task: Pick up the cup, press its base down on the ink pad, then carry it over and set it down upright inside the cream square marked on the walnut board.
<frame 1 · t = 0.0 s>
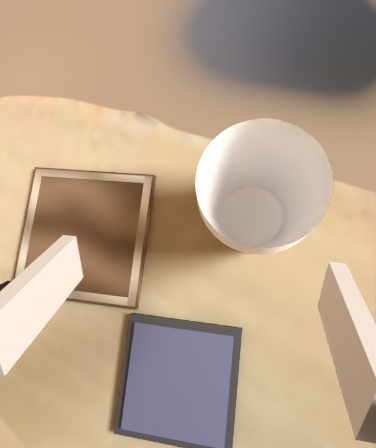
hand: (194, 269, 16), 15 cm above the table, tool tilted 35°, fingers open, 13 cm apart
cup: (250, 216, 32), on the table
ink pad: (179, 378, 30), on the table
marked board: (85, 234, 34), on the table
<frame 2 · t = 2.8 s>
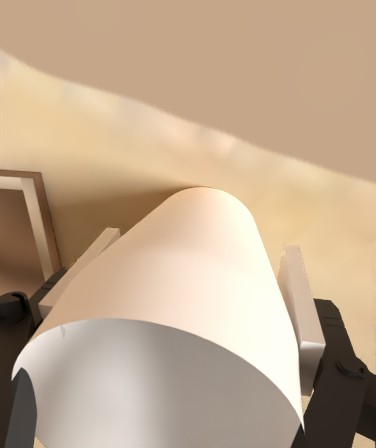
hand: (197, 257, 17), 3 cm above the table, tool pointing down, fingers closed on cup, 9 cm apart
cup: (204, 234, 20), on the table, touching gripper
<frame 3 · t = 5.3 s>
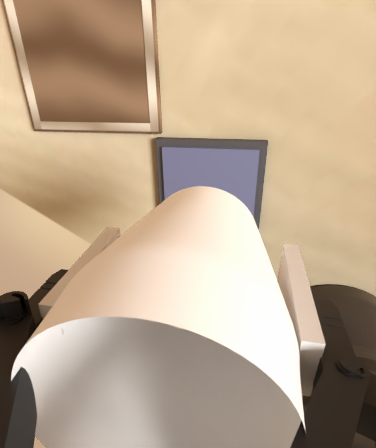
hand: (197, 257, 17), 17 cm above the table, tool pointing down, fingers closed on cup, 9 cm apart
cup: (204, 233, 20), point 14 cm above the table, touching gripper
ink pad: (210, 190, 34), on the table
marked board: (86, 55, 29), on the table
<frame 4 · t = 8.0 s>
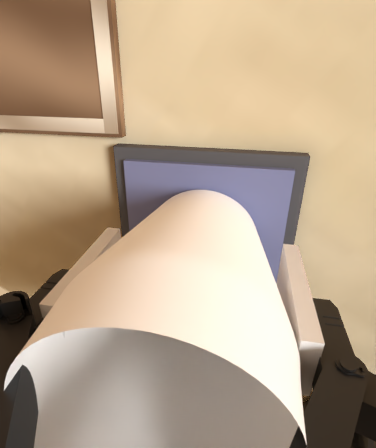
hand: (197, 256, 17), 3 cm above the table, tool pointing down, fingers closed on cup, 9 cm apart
cup: (203, 237, 20), point 1 cm above the table, touching gripper, ink pad
ink pad: (205, 231, 20), on the table
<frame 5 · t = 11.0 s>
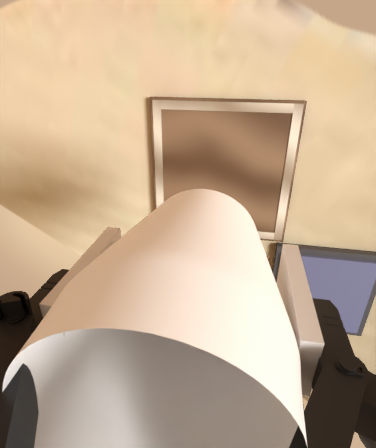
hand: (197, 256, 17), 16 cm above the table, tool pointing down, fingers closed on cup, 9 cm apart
cup: (203, 236, 19), point 14 cm above the table, touching gripper
ink pad: (319, 288, 36), on the table
marked board: (221, 172, 32), on the table
when the fingers open (4 cm above the table, at t = 13.4 s): cup drops 2 cm, resting on marked board.
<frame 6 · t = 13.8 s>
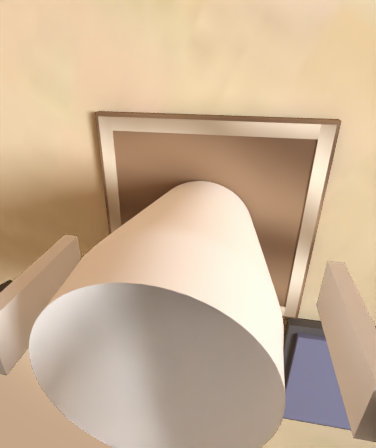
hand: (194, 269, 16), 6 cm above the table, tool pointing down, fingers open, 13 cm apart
cup: (202, 226, 21), resting on marked board
ink pad: (347, 377, 25), on the table
marked board: (207, 222, 21), on the table
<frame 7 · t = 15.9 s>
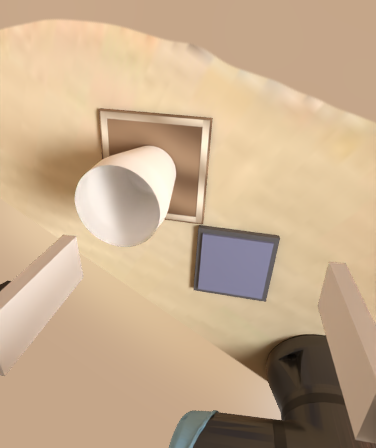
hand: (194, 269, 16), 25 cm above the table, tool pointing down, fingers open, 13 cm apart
cup: (152, 170, 41), resting on marked board
ink pad: (233, 263, 46), on the table
marked board: (154, 168, 41), on the table
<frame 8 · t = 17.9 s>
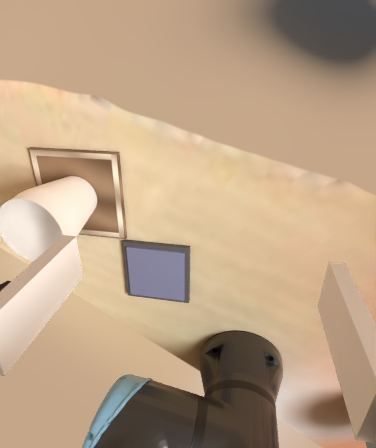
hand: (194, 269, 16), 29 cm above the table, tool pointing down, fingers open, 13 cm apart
cup: (78, 195, 49), resting on marked board
ink pad: (157, 270, 53), on the table
marked board: (80, 194, 49), on the table
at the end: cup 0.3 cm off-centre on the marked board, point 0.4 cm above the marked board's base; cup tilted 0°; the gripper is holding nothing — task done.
